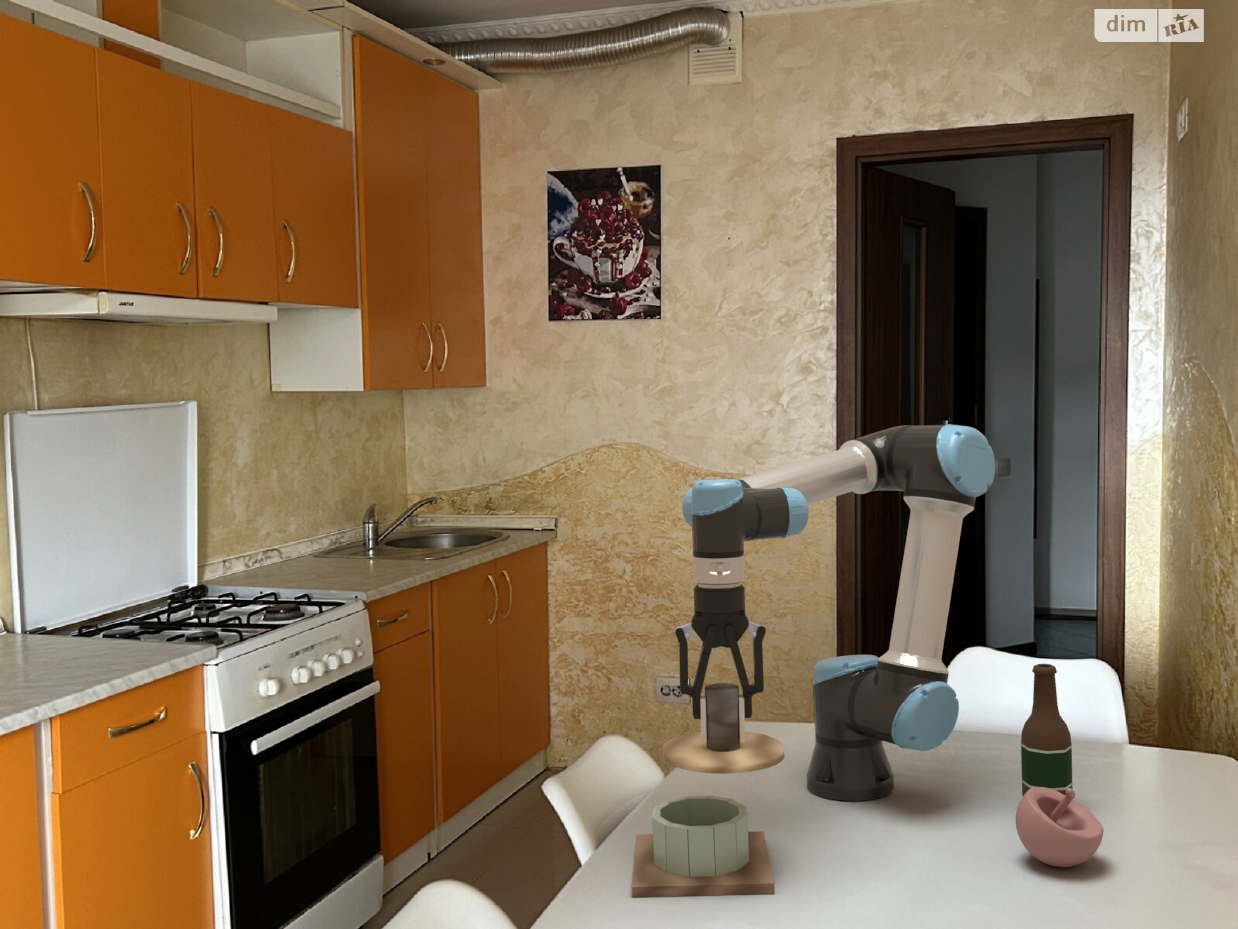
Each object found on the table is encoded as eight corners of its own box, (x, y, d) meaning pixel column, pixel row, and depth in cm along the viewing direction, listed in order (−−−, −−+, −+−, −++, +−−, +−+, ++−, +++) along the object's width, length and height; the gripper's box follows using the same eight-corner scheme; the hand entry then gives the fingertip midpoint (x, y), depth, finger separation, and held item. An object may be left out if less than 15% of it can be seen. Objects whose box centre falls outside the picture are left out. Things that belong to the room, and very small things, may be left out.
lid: (778, 737, 188) (776, 672, 187) (790, 772, 170) (789, 701, 169) (662, 739, 188) (660, 674, 188) (663, 774, 170) (661, 703, 170)
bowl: (745, 839, 186) (743, 794, 186) (751, 875, 172) (749, 827, 172) (655, 841, 187) (653, 797, 187) (653, 878, 173) (651, 830, 173)
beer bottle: (1048, 822, 192) (1045, 673, 190) (1012, 808, 199) (1008, 664, 197) (1083, 812, 195) (1080, 666, 194) (1046, 799, 202) (1043, 657, 201)
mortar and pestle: (1095, 886, 167) (1093, 805, 166) (1007, 871, 173) (1005, 793, 173) (1111, 856, 177) (1109, 780, 177) (1027, 843, 184) (1025, 769, 183)
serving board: (763, 840, 189) (763, 831, 189) (774, 894, 169) (774, 883, 169) (636, 844, 190) (636, 834, 190) (632, 897, 170) (632, 887, 170)
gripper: (658, 589, 174) (662, 748, 176) (782, 586, 174) (786, 745, 175) (657, 582, 182) (662, 734, 183) (777, 579, 181) (780, 731, 183)
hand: (722, 739), depth 179 cm, fingers closed on lid, 5 cm apart
